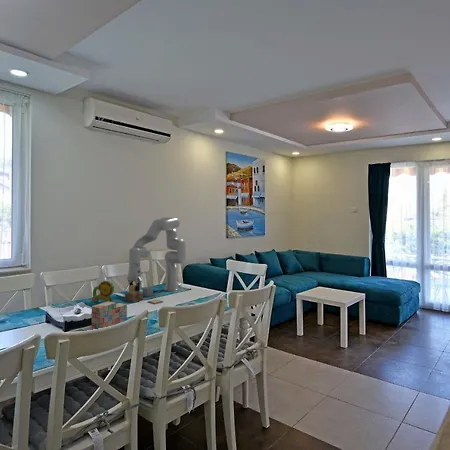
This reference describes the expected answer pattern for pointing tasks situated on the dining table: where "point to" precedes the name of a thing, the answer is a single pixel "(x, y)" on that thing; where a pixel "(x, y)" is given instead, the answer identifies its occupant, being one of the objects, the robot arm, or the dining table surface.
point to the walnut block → (133, 297)
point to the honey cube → (133, 290)
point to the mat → (155, 301)
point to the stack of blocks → (108, 314)
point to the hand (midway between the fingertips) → (134, 289)
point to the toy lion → (103, 292)
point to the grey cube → (147, 291)
